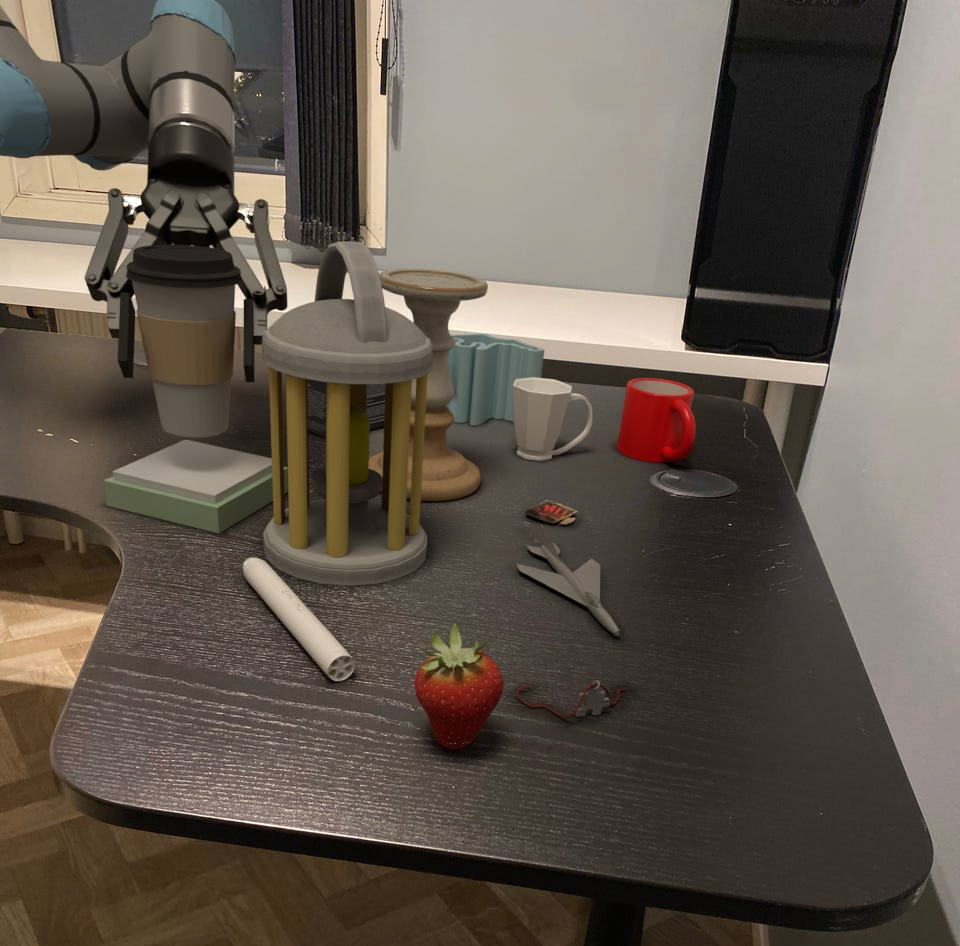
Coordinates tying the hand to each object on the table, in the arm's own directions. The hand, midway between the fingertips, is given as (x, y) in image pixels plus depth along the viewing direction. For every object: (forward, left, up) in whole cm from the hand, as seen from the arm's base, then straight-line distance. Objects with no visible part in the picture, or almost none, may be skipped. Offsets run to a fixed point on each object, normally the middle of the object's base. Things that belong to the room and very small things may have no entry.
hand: (188, 372), depth 78 cm
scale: (-2, +3, -13) cm, 13 cm away
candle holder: (+14, +19, -13) cm, 27 cm away
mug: (+35, +42, -13) cm, 56 cm away
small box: (-1, +31, -13) cm, 33 cm away
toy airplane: (+34, +4, -13) cm, 37 cm away
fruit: (+34, -22, -13) cm, 43 cm away
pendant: (+40, -14, -13) cm, 45 cm away
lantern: (+15, 0, -13) cm, 20 cm away
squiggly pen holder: (+10, +42, -13) cm, 45 cm away
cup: (+23, +35, -13) cm, 44 cm away
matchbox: (+29, +17, -13) cm, 36 cm away
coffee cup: (-2, +3, -6) cm, 7 cm away
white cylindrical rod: (+18, -14, -13) cm, 26 cm away
